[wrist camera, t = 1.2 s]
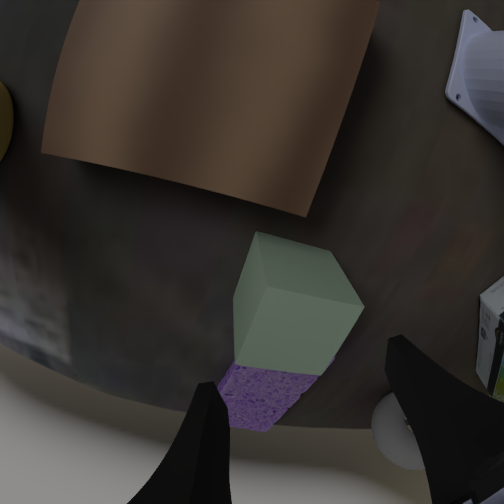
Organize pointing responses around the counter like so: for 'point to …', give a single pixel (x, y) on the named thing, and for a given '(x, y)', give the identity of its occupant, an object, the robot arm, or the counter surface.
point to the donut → (395, 434)
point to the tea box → (492, 340)
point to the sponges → (261, 394)
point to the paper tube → (5, 119)
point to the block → (291, 307)
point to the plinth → (210, 91)
